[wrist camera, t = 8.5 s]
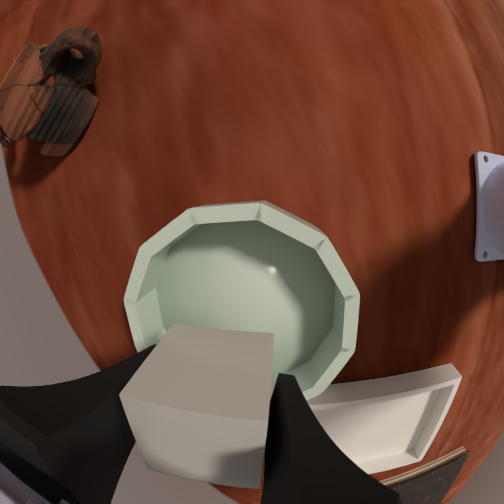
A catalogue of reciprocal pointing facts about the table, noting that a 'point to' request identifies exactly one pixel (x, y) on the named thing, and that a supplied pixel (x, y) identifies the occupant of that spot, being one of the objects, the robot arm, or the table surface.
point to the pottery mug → (51, 92)
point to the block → (203, 404)
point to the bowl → (249, 287)
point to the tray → (387, 416)
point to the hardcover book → (428, 479)
